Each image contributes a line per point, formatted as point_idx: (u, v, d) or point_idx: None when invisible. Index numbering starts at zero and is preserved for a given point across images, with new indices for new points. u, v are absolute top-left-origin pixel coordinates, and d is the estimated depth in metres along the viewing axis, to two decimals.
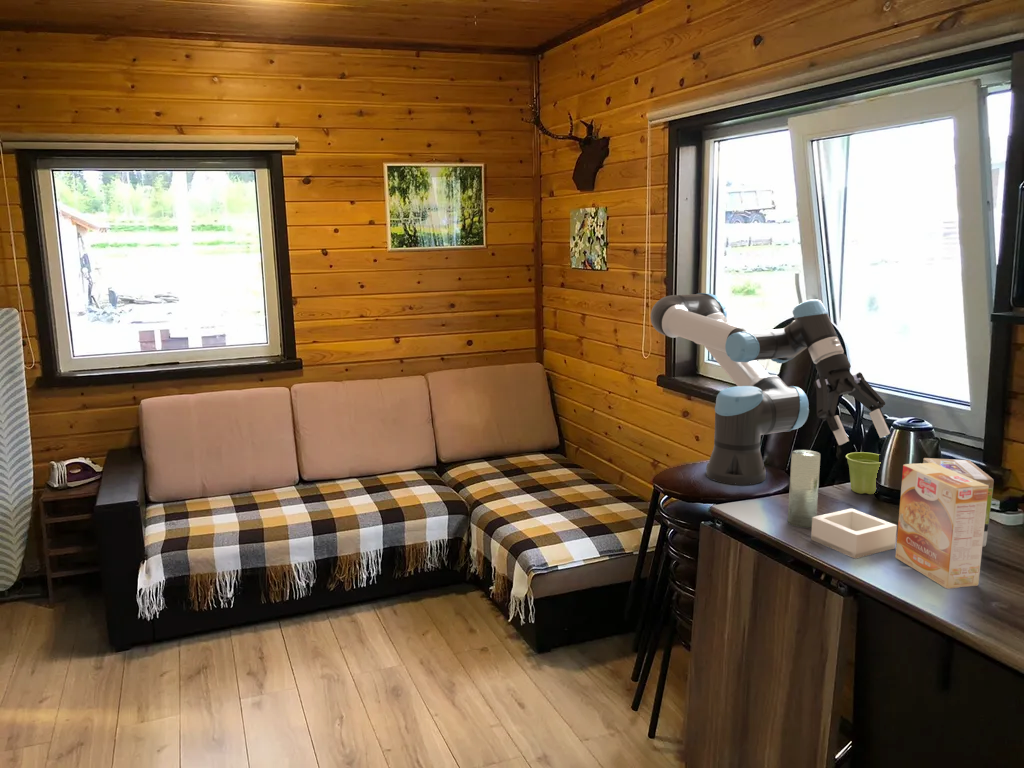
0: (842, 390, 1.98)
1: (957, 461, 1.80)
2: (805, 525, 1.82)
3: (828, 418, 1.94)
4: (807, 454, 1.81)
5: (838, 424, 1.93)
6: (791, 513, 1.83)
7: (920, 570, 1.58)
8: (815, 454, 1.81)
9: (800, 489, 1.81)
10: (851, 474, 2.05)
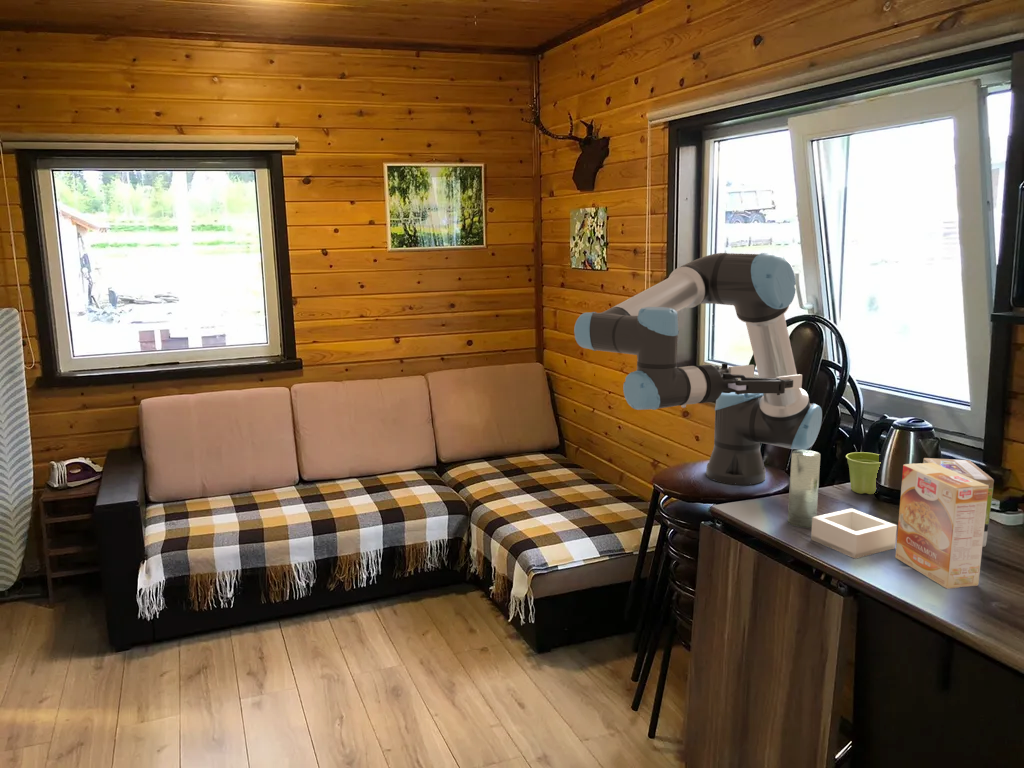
0: None
1: (957, 461, 1.80)
2: (805, 525, 1.82)
3: None
4: (807, 454, 1.81)
5: None
6: (791, 513, 1.83)
7: (920, 570, 1.58)
8: (815, 454, 1.81)
9: (800, 489, 1.81)
10: (851, 474, 2.05)
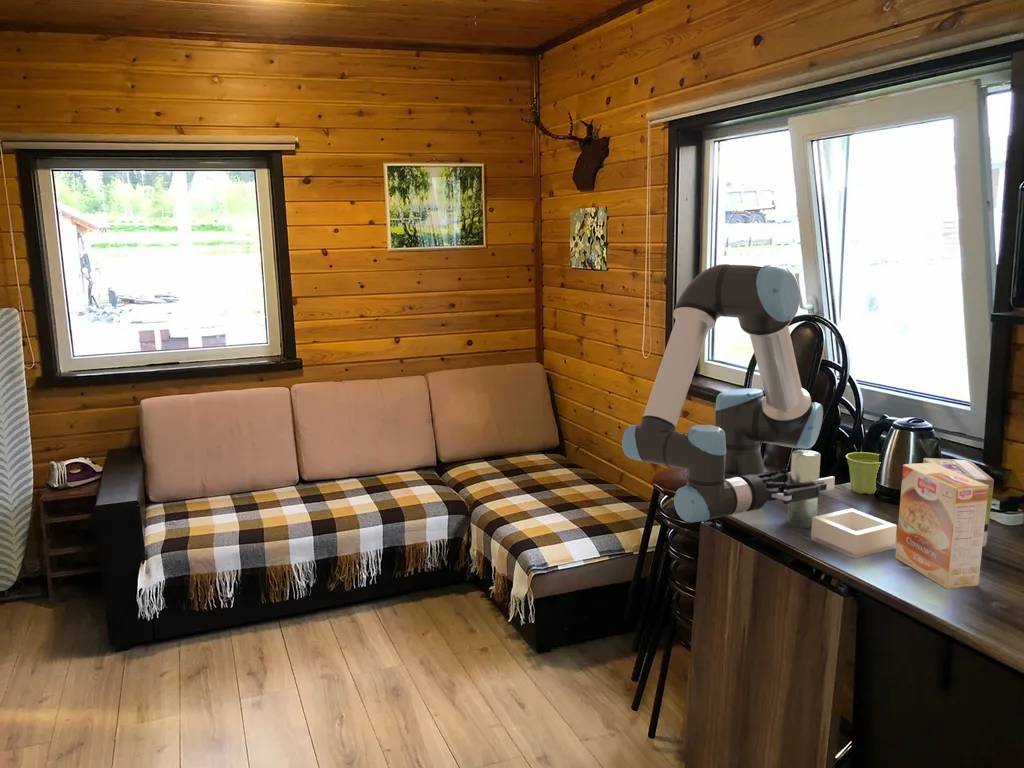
0: None
1: (957, 461, 1.80)
2: (805, 525, 1.82)
3: None
4: (807, 454, 1.81)
5: None
6: (792, 513, 1.83)
7: (920, 570, 1.58)
8: (815, 454, 1.81)
9: None
10: (851, 474, 2.05)
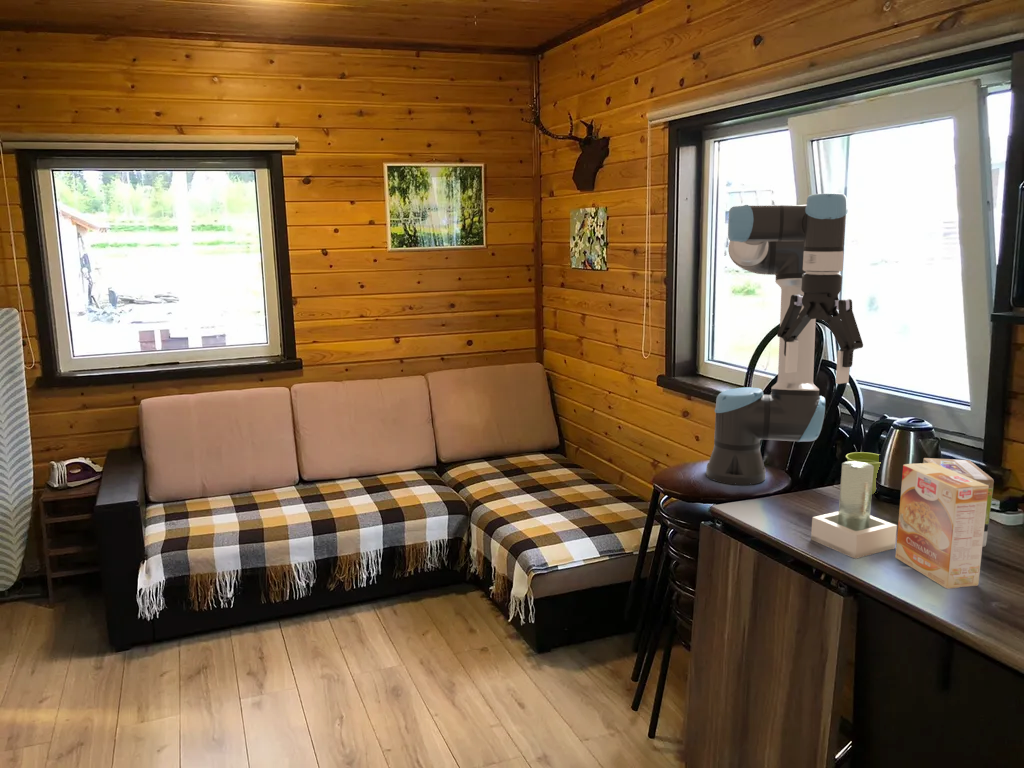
0: (809, 316, 1.68)
1: (957, 461, 1.80)
2: None
3: None
4: (859, 467, 1.68)
5: None
6: None
7: (920, 570, 1.58)
8: (868, 466, 1.68)
9: (852, 504, 1.68)
10: None
